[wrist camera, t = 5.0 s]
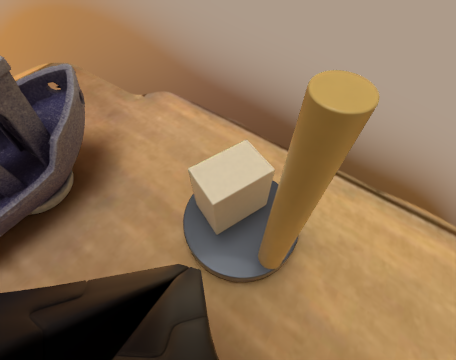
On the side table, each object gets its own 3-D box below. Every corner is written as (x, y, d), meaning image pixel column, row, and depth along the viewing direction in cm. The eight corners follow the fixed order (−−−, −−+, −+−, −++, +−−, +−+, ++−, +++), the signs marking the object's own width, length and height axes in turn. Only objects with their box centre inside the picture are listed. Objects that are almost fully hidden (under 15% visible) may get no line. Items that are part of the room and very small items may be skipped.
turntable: (223, 309, 16) (201, 203, 4) (167, 210, 20) (74, 12, 8) (319, 239, 18) (477, 50, 7) (252, 164, 22) (276, -39, 11)
